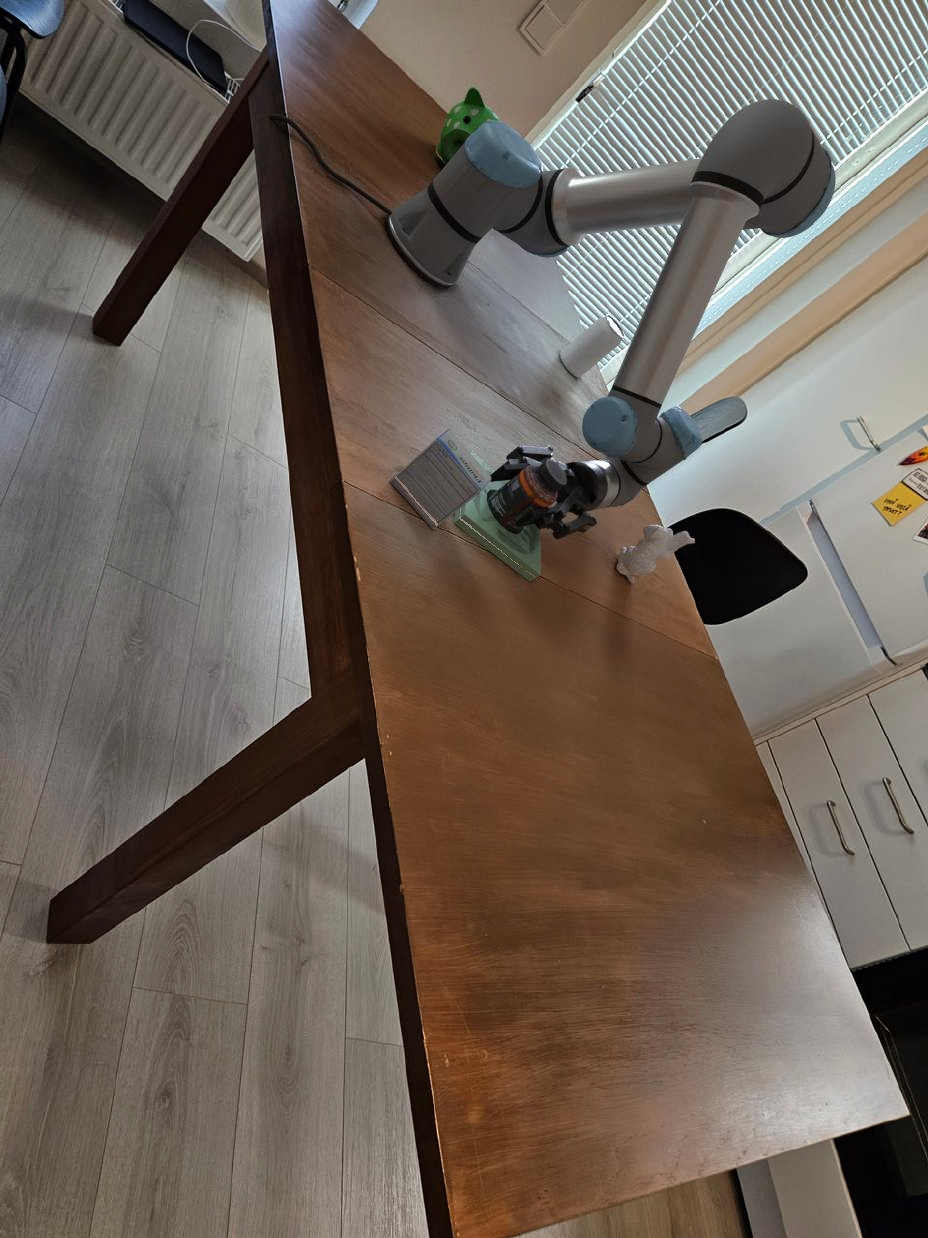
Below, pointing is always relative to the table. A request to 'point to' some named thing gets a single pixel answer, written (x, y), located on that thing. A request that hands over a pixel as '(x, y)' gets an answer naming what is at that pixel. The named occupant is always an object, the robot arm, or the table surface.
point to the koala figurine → (650, 550)
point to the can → (592, 345)
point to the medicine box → (442, 478)
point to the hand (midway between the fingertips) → (510, 496)
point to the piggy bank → (462, 124)
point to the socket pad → (501, 531)
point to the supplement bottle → (526, 493)
